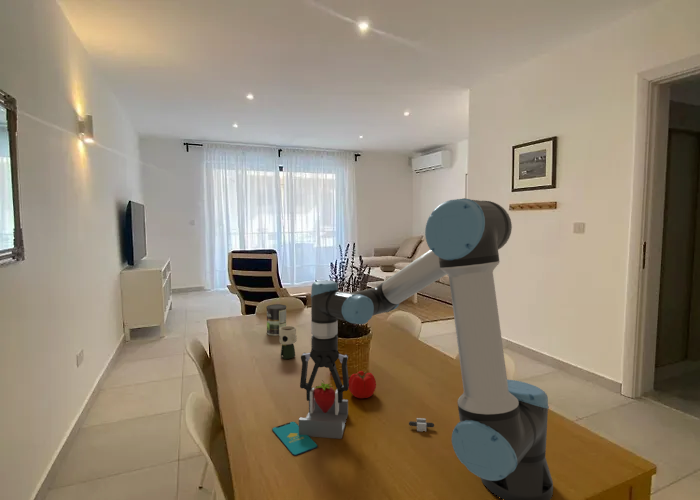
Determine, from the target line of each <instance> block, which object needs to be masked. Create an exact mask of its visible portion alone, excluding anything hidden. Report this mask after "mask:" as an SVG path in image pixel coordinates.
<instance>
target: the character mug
mask: <svg viewBox="0 0 700 500" xmlns="http://www.w3.org/2000/svg"><path fill="white" fill-rule="evenodd" d="M278 337H279V339H278V341H279V343H280V344H281V349H280V358H282V359H286V360H289V359H292V358H294V357H295V356H296V350H295V345H294V344H296V343H297V339H298V338H297V327H296V326H292V325H286V326H284V327H280V329H279V336H278Z"/></svg>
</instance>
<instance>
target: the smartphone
mask: <svg viewBox="0 0 700 500" xmlns="http://www.w3.org/2000/svg"><path fill="white" fill-rule="evenodd" d="M271 431H272V432H273V434H274V435H275V436H276V438H277V439H279V440H280V442H281V443H282V444H283V446H284V447H285V448H286V449H287V450H288V451H289V453H290V454H291V455H292V456H294V457H295V456H296V457H297V456H299V455H302V454H305V453H308V452H310V451H313V450H315V449H318V448H319V447H318V446H319V445H318V444H317V442H315V441H314V440H313V438H312V437H311V436H308V435H300V434H299V424H298V423H297V422H296V421H290V422H287V423H284V424H281V425H277V426H275V427H273V428H271Z"/></svg>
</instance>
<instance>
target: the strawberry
mask: <svg viewBox="0 0 700 500" xmlns="http://www.w3.org/2000/svg"><path fill="white" fill-rule="evenodd" d="M321 381H322V382H321V385H317V386H315V387H314V398H315V401H316V403H317V404H318V406H319V407H320V408H321V409H322V411H323V412H324V413H326V412H327V411H328V410H329V409H330V408H331V406H332V405H333V403H334V401H335V392H336V390H334V389H333V388H332V387H333V386H334V385H333V386H331V382H330V383H324V380H322V379H321Z"/></svg>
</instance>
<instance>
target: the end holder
mask: <svg viewBox="0 0 700 500" xmlns="http://www.w3.org/2000/svg"><path fill="white" fill-rule="evenodd" d="M314 404H315V409H314V411H313V413H310V401H308V413H307V414H306V417H301V416H300V417H299V418H298V426H299V434H300V435H308V436H309V437H310V438H312V437H315V438H324V439H325V438H328V439H339V440H342V439H343V435H344V432H345V427H346V424H345V423H346V422H347V420H346V419H347V418H348V416H349V399H345V398H343V400H342V403H339V412H338V415H335V401H334V403H333V405H332V406H331V408H330V409H329V410H328V411H327V412H326V413H324V412H323V411H322V409H321V408H320V407H319V406H318V404H317V403H316V401H315V398H314Z"/></svg>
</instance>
